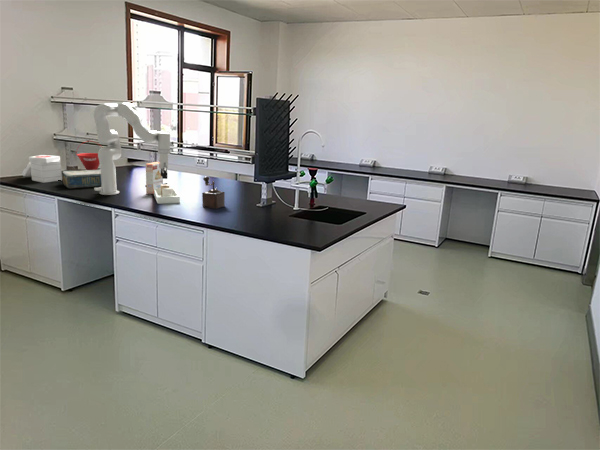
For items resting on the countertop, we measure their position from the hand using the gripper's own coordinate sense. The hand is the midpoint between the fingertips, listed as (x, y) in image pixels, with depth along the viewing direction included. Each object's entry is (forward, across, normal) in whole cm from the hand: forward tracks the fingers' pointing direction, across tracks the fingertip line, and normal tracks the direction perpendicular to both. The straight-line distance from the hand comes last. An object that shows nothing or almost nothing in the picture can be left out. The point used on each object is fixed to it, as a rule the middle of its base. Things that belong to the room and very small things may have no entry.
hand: (164, 177), depth 306 cm
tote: (+14, +6, +1) cm, 15 cm away
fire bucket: (+17, -85, -47) cm, 99 cm away
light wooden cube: (+13, 0, +1) cm, 13 cm away
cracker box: (+15, -21, -4) cm, 26 cm away
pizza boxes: (+18, -84, -82) cm, 119 cm away
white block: (+13, +14, +1) cm, 19 cm away
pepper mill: (+13, +29, +26) cm, 41 cm away
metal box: (+17, -57, -48) cm, 77 cm away
